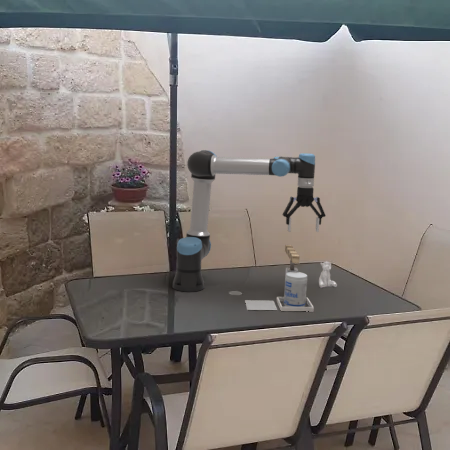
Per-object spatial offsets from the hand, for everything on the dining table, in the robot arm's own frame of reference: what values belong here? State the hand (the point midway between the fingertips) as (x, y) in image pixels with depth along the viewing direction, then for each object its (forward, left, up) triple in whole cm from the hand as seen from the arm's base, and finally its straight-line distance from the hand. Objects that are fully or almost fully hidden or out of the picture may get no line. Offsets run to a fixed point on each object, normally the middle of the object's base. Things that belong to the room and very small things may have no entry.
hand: (303, 231), depth 284 cm
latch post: (-7, -13, -29) cm, 32 cm away
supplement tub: (-7, -25, -29) cm, 39 cm away
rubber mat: (-22, -25, -29) cm, 44 cm away
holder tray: (-7, -25, -29) cm, 39 cm away
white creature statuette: (+14, +9, -29) cm, 34 cm away
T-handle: (-7, -10, -15) cm, 19 cm away
